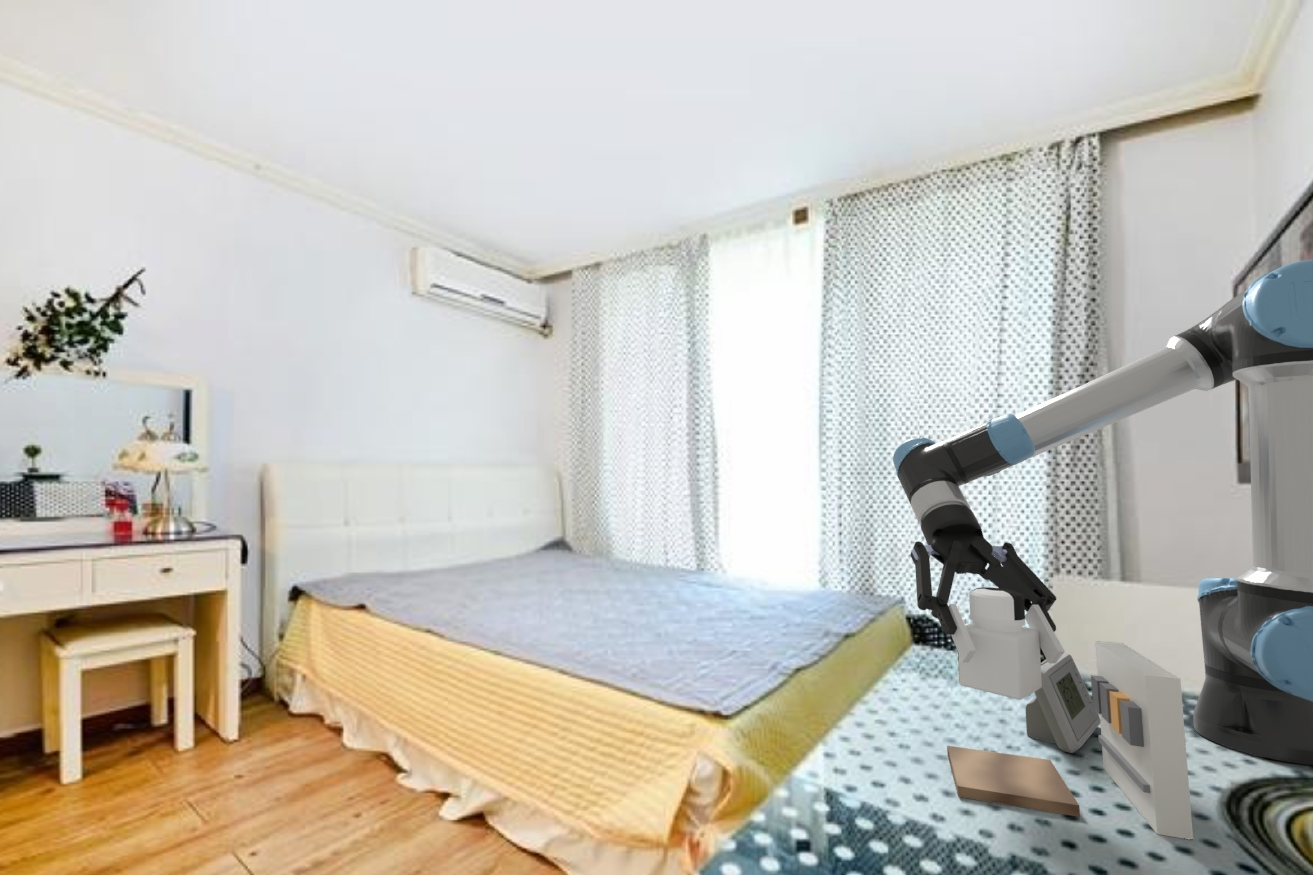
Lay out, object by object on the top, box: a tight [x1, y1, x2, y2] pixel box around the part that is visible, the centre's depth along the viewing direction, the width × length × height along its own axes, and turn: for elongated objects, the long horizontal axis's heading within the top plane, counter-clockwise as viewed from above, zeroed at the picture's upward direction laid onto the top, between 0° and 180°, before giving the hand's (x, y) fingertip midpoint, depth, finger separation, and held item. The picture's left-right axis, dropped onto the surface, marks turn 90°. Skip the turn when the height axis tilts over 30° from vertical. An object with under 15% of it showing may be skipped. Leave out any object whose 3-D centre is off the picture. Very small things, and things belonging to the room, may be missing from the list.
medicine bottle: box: [957, 586, 1042, 701], centre depth 74 cm, size 7×7×12 cm
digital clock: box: [1025, 651, 1101, 754], centre depth 88 cm, size 16×9×11 cm, turn 122°
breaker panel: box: [1090, 640, 1194, 840], centre depth 69 cm, size 4×16×16 cm, turn 159°
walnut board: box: [946, 745, 1081, 818], centre depth 73 cm, size 12×12×1 cm
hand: (1013, 657), depth 71 cm, fingers closed on medicine bottle, 10 cm apart
